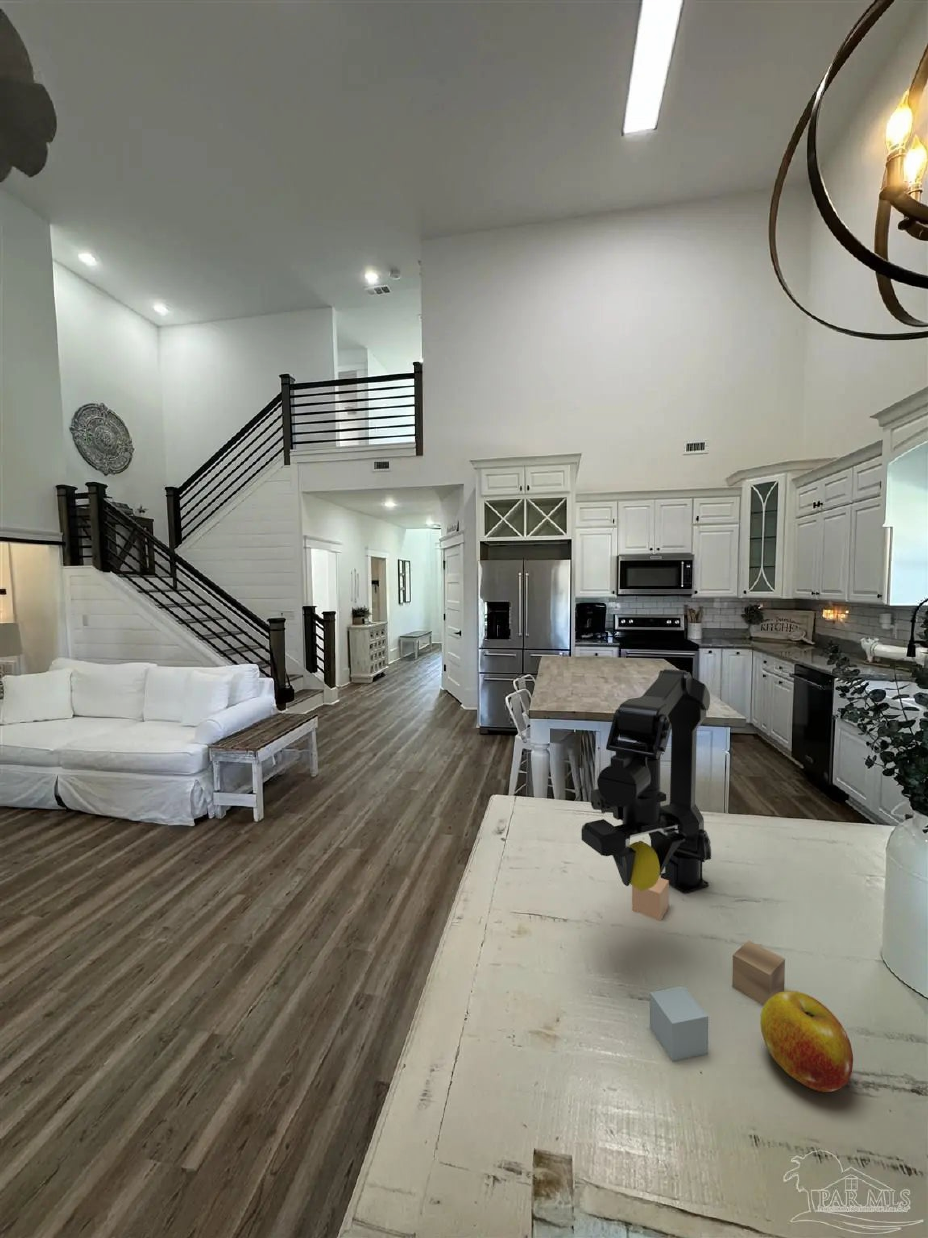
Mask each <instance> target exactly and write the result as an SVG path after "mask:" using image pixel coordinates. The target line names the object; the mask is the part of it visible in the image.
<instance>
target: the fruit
mask: <svg viewBox="0 0 928 1238" xmlns="http://www.w3.org/2000/svg"><path fill="white" fill-rule="evenodd" d="M760 1032H761V1035H762V1037H763V1038H762V1039H763V1041H764V1044H765V1046H766V1048H767V1049H768V1052H769V1053H770V1055H771V1057H772V1058H773V1059H774V1060H775V1062H776V1063H777V1064H778V1065H779V1066H780V1067H781V1068H782V1069H783V1071H785V1073H786V1074H788V1075H789V1076H790V1077H792V1078H793V1079H794V1080H795V1081H797V1082H799V1083H800V1084H801V1085H803V1086H805V1087H807V1088H810V1089H812V1090H815V1091H819V1092H824V1093H826V1092H827V1093H831V1092H835V1091H838V1090H840V1089H843V1087H844V1086H845V1085H846V1084H848V1082H849V1080H850V1079H851V1076H852V1073H853V1067H854V1065H853V1064H854V1053H853V1048H852V1044H851V1041H850V1038H849V1036H848V1033H847V1032H846V1030H845V1028H844V1027H843V1025H842V1023H841V1022H840V1020H838V1018H837V1017H836V1016H835V1014H834V1013H833V1011H831V1010H830V1009H829V1008H828V1007H827V1006H825V1004H823V1003H822V1002H821V1001H819V1000H818V999H816V998H814V997H813V996H811V995H808V994H806V993H803V992H801V991H797V990H796V991H795V990H784V991H783V992H779V993H777V994H775V995H774V996H772V997H771V998H769V999H768V1001H767V1002H766V1003H765V1005H764V1006H763V1005H762V1009H761V1013H760Z"/></svg>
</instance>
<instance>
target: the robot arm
mask: <svg viewBox="0 0 928 1238" xmlns="http://www.w3.org/2000/svg"><path fill="white" fill-rule="evenodd" d="M657 676H658V677H657V678H656V679H655V681H654V682H653V683H652V684H651V685H650V686H649V687H648V688H647V690H646V691H645V692H644V693H643V694H642V695H641V696H639V697H633V698H628V699H627V700H625V701H623V702H622V703H620V704H619V706H618V708H617V709H615V711H614V714H613V718H612V723H611V726H610V730H609V733H608V737H607V741H606V746H605V750H606V751H610V752H611V751H612V752H615V754H614V755H612V756H611V757H610V764H609V765H606V766H605V768H603V769H601V771H600V773H599V775H598V777H597V781H596V785H597V788H593V789H590V799H589V801H590V805H591V806H590V807H591V808H592V810H594V811H595V810H596V811H600V813H601V814H605V813H610V814H612V818H614V819H615V820H618V821H619V820H620V821H621V823H622V824H618V825H613V824H612V823H611V822H608V821H607V820H606V819H604V818H602V819H598V820H593V821H589V822H585V823H584V824H583V825H582V827H581V830H580V831H581V832H580V833H581V835H580V836H581V841H582V842H584V843H585V844H586V845H588V847H590V848H592V849H593V850H594V851H595V852H596V853H598V854H599V855H600V856H603V857H609V856H610V857H611V856H612V857H613V860H614V863H615V865H616V868H617V870H618V874H619V877H620V879H621V882H622V884H623V885H625V887H630V885H631V884H630V881H631V877H632V872H633V866H634V861H635V855H636V851H635V850H634V849H632V848H631V847H630V844H631V843H630V841H631V838H633V837H638V836H639V837H640V836H642V835H646V834H648V836H649V838H650V846H651V847H652V848H653V849H654V851H655V852H656V854H657V856H658V860H659V865H660V874H659V877H660V878H663V879H666V880H669V885H672V886H673V887H675V888H676V889H677V890H679V891H680V892H682V893H683V894H686V893H691V892H693V891H696V890H701V889H703V888H707V887H709V886H710V885H709V882H708V881H707V880H705V879H703V863H705V862H706V861H709V860H711V859H712V847H711V839H710V837H709V835H708V832H707V830H705V818H704V816H703V815H702V813H701V812H700V809H699V808H698V806H697V804H696V779H697V777H696V776H697V739H698V737H697V735H698V733H697V732H698V729H699V727H700V725H702V723H703V722H704V720H705V719H706V717H707V711H708V710H709V709H710V706H711V695H710V692H709V689H708V687H707V685H706V684H705V683H703V682H702V681H700V680H698V679H697V678H694V677H693V676H692V674H691V672H689V671H688V672H687V671H686V670H683V669H682V670H681V669H668V668H664V669H661V670H660V671H659V672H658V675H657ZM670 735H671V736H670ZM670 737H671V739H670ZM619 738H620V739H619ZM669 739H670V740H671V742H670V774H669V775H670V779H669V780H670V781H669V782H670V785H669V804H665V805H661V803H662V802H666V801H667V793H664V792H662V790H661V757H662V754H663V753H666V749H667V745H668V743H669ZM627 740H628V741H627ZM633 741H634V742H633ZM663 871H664V872H663ZM662 872H663V873H662Z"/></svg>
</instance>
